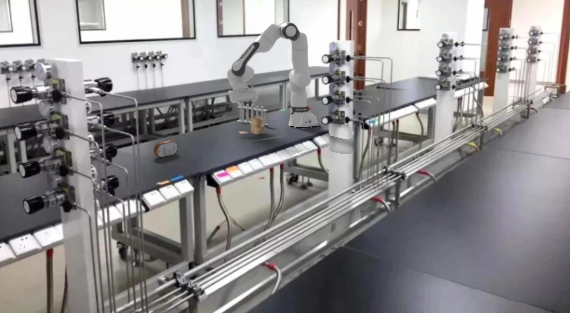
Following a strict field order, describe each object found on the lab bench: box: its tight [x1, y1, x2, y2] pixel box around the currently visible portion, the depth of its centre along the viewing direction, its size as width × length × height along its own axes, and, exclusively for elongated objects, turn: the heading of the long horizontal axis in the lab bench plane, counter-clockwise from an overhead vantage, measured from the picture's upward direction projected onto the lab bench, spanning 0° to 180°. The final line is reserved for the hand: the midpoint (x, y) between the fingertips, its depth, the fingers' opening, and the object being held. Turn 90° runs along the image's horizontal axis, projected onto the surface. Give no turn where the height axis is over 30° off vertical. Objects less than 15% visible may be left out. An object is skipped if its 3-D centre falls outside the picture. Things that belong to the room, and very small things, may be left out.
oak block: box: [250, 116, 265, 135], centre depth 334 cm, size 6×6×10 cm
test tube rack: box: [236, 103, 269, 127], centre depth 366 cm, size 25×4×13 cm, turn 55°
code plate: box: [238, 130, 249, 134], centre depth 335 cm, size 21×14×1 cm, turn 112°
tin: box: [153, 139, 179, 158], centre depth 281 cm, size 15×3×8 cm, turn 141°
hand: (248, 106), depth 339 cm, fingers open, 8 cm apart
